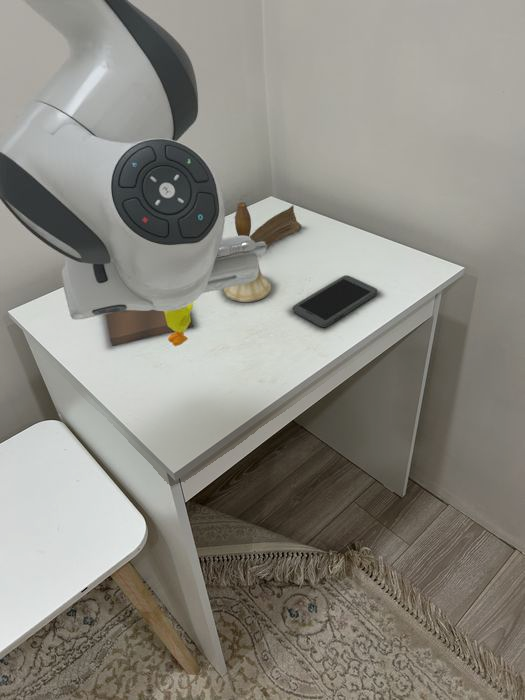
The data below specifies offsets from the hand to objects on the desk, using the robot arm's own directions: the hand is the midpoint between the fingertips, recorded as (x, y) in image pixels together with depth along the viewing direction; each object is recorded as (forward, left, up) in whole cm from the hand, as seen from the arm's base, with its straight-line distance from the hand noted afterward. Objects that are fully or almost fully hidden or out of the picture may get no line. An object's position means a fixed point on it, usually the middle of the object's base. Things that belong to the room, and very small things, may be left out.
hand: (163, 295), depth 64 cm
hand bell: (+16, +23, -17) cm, 33 cm away
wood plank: (+26, +37, -17) cm, 49 cm away
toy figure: (0, -1, -7) cm, 7 cm away
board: (-2, +23, -17) cm, 29 cm away
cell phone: (+29, +14, -17) cm, 36 cm away
